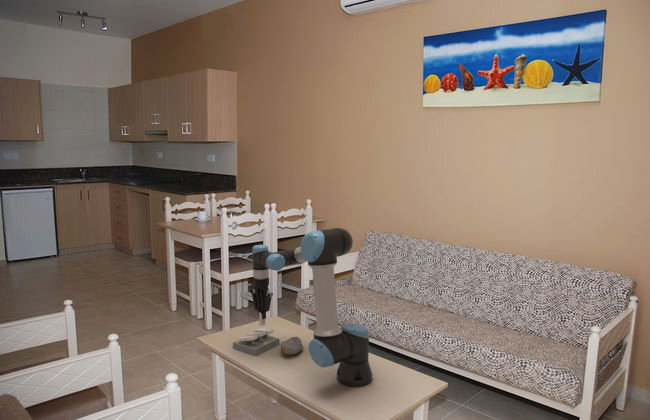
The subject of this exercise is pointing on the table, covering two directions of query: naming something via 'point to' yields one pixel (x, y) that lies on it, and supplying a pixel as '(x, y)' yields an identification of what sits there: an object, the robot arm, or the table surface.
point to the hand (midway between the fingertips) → (262, 324)
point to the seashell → (291, 346)
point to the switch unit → (256, 345)
